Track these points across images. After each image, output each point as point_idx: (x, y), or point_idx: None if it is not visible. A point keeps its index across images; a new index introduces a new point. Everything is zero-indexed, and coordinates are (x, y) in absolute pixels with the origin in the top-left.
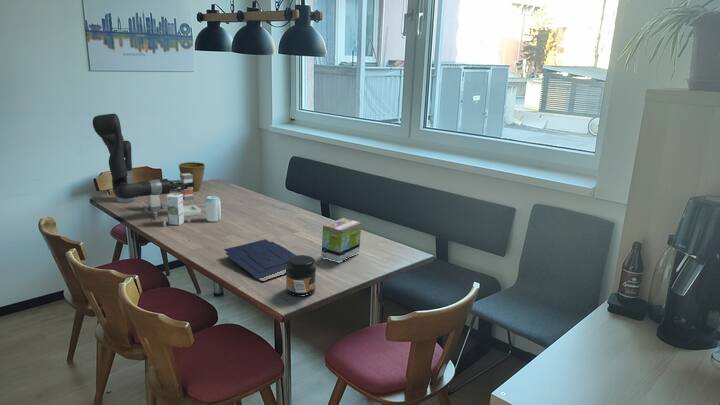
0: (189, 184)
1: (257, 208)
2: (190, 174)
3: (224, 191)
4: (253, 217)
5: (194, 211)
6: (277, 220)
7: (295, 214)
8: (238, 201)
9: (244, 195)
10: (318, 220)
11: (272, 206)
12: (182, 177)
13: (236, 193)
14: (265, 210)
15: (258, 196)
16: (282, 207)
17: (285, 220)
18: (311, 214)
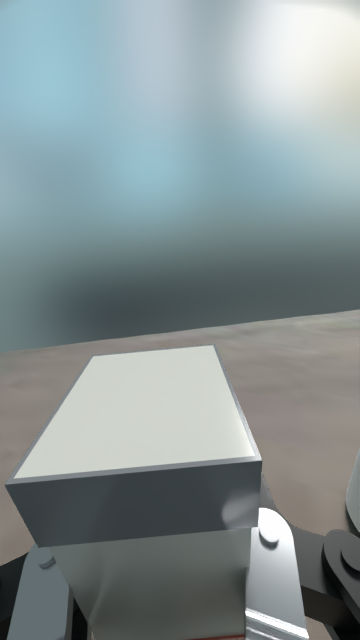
0: (264, 487)
1: (229, 358)
2: (189, 355)
3: (29, 370)
4: (324, 382)
5: None
6: (355, 354)
7: (299, 328)
8: None
9: (104, 352)
10: (346, 317)
11: (224, 338)
12: (178, 511)
13: (74, 358)
14: (254, 351)
15: (134, 338)
16: (239, 331)
17: (353, 345)
18: (301, 317)
